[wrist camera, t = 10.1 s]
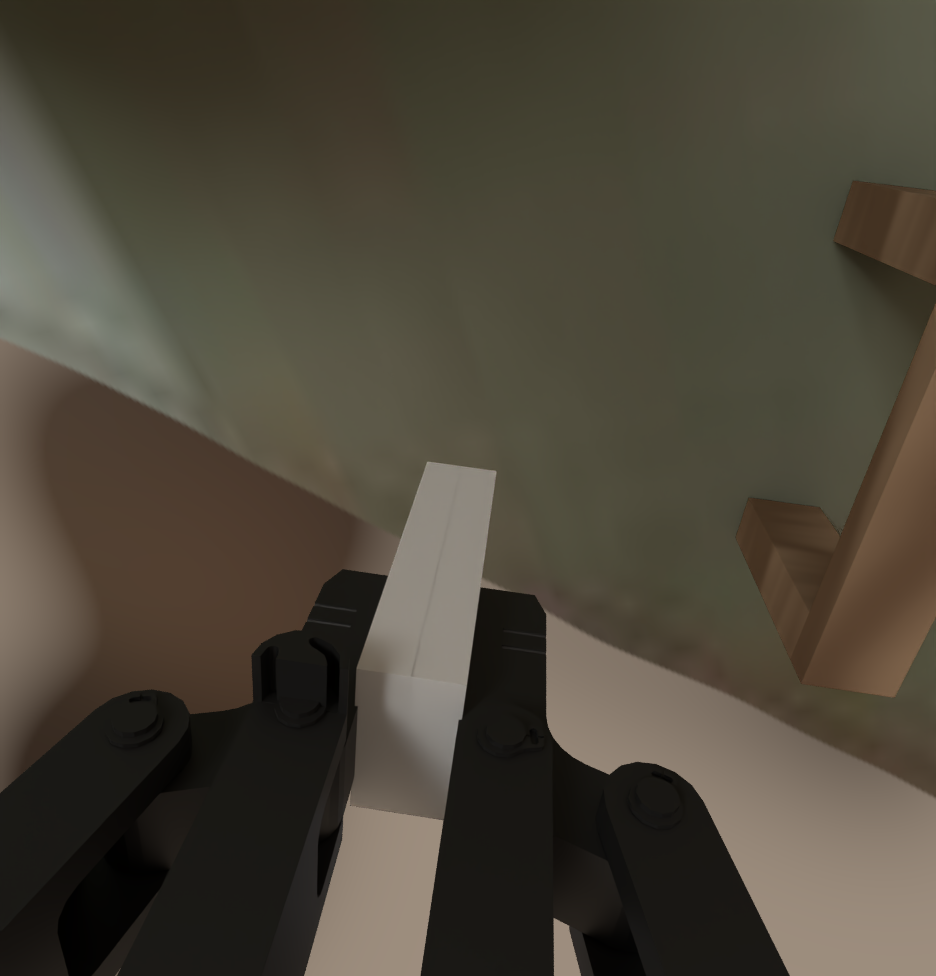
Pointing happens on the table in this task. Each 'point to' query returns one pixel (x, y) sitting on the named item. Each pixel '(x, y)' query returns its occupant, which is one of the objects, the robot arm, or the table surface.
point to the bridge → (864, 502)
